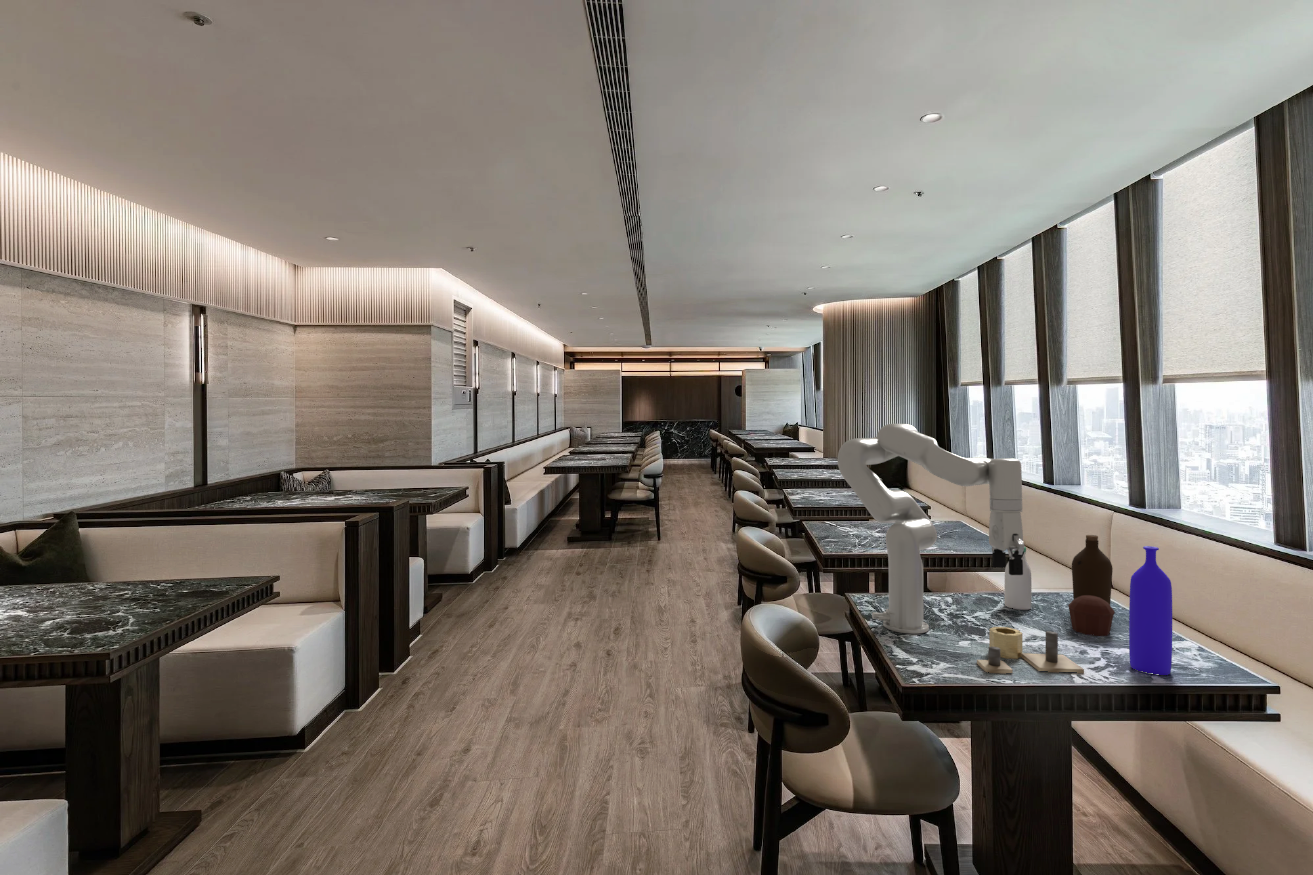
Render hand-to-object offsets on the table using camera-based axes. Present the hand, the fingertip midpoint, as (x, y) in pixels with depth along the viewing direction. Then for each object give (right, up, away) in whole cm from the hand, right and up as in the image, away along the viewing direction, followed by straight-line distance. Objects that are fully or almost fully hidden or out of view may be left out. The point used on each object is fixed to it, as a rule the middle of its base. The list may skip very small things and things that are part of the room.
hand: (1007, 570), depth 168 cm
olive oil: (+45, -21, +33) cm, 60 cm away
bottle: (+28, -22, -12) cm, 38 cm away
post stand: (+6, -22, -8) cm, 24 cm away
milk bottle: (+27, -21, +43) cm, 54 cm away
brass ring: (-1, -22, 0) cm, 22 cm away
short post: (-9, -22, -11) cm, 26 cm away
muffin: (+34, -21, +18) cm, 44 cm away
